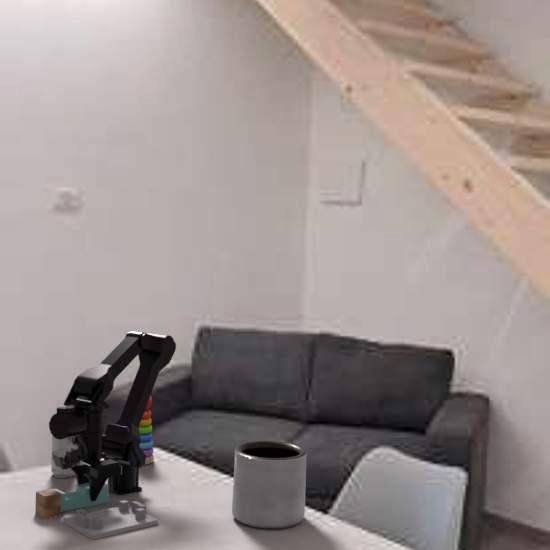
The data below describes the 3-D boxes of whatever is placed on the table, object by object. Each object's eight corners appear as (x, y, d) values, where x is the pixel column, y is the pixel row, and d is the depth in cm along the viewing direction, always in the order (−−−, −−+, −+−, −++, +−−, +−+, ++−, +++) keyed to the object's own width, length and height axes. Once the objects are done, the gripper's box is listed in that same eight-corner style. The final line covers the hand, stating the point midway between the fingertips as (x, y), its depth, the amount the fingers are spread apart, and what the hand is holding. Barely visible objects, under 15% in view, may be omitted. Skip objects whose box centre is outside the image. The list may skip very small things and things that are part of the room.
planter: (292, 535, 200) (296, 463, 199) (221, 524, 205) (224, 453, 204) (312, 512, 216) (315, 445, 214) (245, 503, 220) (248, 437, 219)
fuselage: (98, 497, 220) (99, 480, 219) (108, 502, 217) (108, 484, 216) (51, 507, 212) (52, 489, 211) (60, 511, 209) (61, 494, 208)
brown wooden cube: (52, 510, 210) (52, 488, 209) (61, 515, 207) (61, 493, 206) (35, 514, 207) (35, 491, 207) (44, 519, 204) (44, 496, 204)
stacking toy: (129, 467, 245) (131, 395, 244) (119, 459, 252) (121, 389, 251) (158, 464, 249) (160, 393, 247) (147, 456, 256) (149, 387, 254)
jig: (127, 509, 213) (127, 495, 212) (158, 524, 204) (158, 510, 203) (63, 522, 202) (63, 509, 202) (92, 539, 193) (92, 525, 193)
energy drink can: (58, 470, 240) (60, 411, 238) (80, 473, 238) (81, 414, 237) (46, 476, 234) (48, 416, 233) (68, 479, 232) (70, 419, 231)
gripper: (37, 426, 216) (35, 494, 217) (79, 444, 202) (77, 516, 203) (80, 420, 223) (79, 485, 224) (124, 437, 209) (122, 507, 211)
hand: (88, 498), depth 215 cm, fingers closed on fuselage, 4 cm apart
